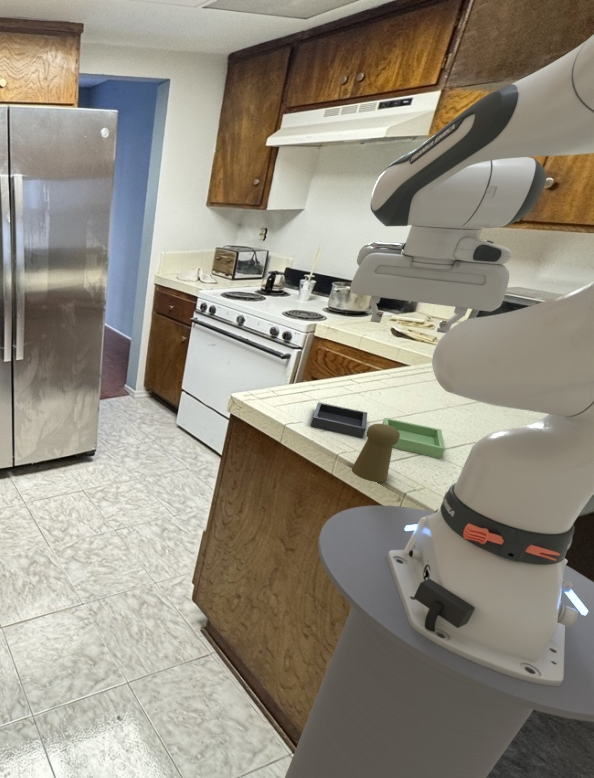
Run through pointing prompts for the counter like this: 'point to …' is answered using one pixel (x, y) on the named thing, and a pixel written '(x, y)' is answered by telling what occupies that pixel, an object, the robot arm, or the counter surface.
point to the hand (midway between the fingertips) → (407, 326)
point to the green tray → (418, 438)
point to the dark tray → (340, 420)
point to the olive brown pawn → (376, 453)
